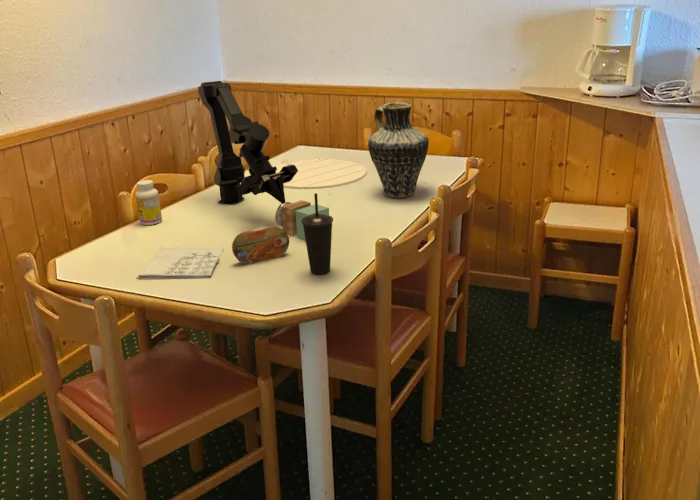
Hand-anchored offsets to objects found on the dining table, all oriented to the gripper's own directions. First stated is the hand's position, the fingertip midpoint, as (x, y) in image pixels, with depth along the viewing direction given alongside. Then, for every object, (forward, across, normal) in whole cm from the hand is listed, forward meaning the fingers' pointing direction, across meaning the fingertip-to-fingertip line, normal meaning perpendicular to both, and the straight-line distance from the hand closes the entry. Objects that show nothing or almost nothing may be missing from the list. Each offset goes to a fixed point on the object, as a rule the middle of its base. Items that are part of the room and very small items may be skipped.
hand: (283, 202), depth 191 cm
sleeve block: (+9, 0, -2) cm, 9 cm away
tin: (+15, +20, +4) cm, 25 cm away
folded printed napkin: (+6, +34, -6) cm, 35 cm away
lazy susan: (-21, -46, -32) cm, 59 cm away
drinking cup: (+28, +16, +16) cm, 36 cm away
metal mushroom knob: (+10, 0, -1) cm, 10 cm away
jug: (+9, -45, -2) cm, 46 cm away
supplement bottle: (-20, +23, -31) cm, 44 cm away
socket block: (+14, 0, +3) cm, 14 cm away
